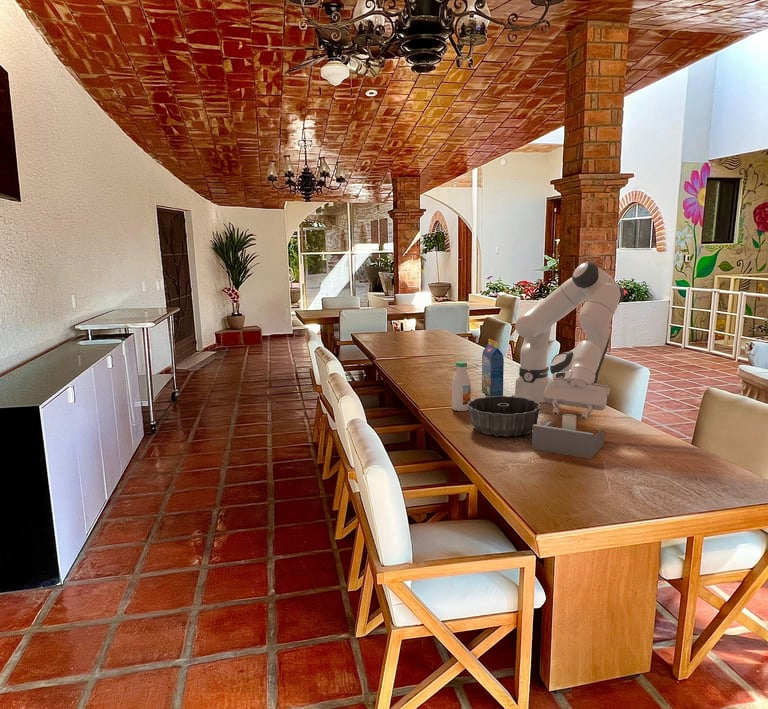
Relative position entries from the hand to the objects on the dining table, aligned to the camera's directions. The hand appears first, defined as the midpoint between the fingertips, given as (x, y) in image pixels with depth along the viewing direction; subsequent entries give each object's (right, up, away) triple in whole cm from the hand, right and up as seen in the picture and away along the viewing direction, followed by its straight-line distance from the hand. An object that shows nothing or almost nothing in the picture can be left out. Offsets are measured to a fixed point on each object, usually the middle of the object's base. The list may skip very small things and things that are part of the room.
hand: (569, 415), depth 187 cm
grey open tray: (0, -10, +2) cm, 10 cm away
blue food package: (-12, +2, +72) cm, 73 cm away
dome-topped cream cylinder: (0, -8, +1) cm, 8 cm away
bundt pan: (-18, -8, +20) cm, 28 cm away
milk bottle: (-29, -3, +49) cm, 57 cm away
